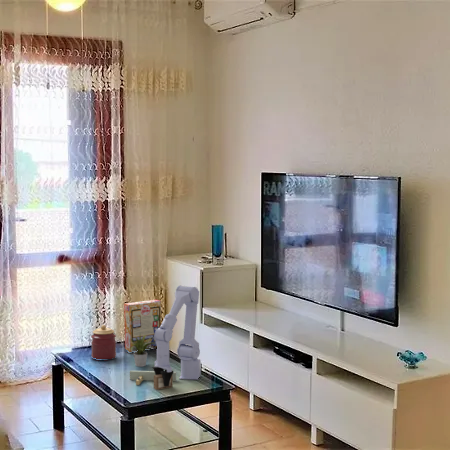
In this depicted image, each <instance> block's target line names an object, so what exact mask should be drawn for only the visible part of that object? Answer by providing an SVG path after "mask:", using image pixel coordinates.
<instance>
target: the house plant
mask: <svg viewBox="0 0 450 450" xmlns="http://www.w3.org/2000/svg"><path fill="white" fill-rule="evenodd" d="M146 336H147V335H144V336H143V338H142V340H141V334H140V337H139V340H138V338H137V337H136V336H135V337H136V340H137V342H135V341H133V340H132V339H130V338H129V339H130V340H132V342H133V343H134V344H132V345H134V346H135V347H136V349H137V350H138V351H137V350H136V349H135V348H134V350H136V351H137V352H135V353H133V358H134V359H133V360H134V364H135V367H138V368H139V367H146V365H147V359H148V352H147V351H145V349H151V348H149V347H151V346H148V345H150V344H155V343H148V344H147V343H146V342H147V341H148V340H149V339H150V338H149V339H148V340H147V341H145V342H144V340H145V337H146ZM151 338H152V337H151ZM135 343H136V344H137V345H136V344H135ZM144 343H145V344H146V345H145V344H144ZM147 346H148V348H146V347H147ZM131 348H133V347H130V349H131ZM152 348H153V347H152ZM131 350H132V349H131Z"/></svg>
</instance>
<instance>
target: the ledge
mask: <svg viewBox="0 0 450 450" xmlns="http://www.w3.org/2000/svg"><path fill="white" fill-rule="evenodd" d="M154 375H155V372H154V370H152V371H151V370H129V380H130V381H133V380H134V381H135V385H136V386H140V385H141V383H142V382H143V381H154ZM172 375H173V382H176V381H177V371H174V373H173V374H172Z"/></svg>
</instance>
